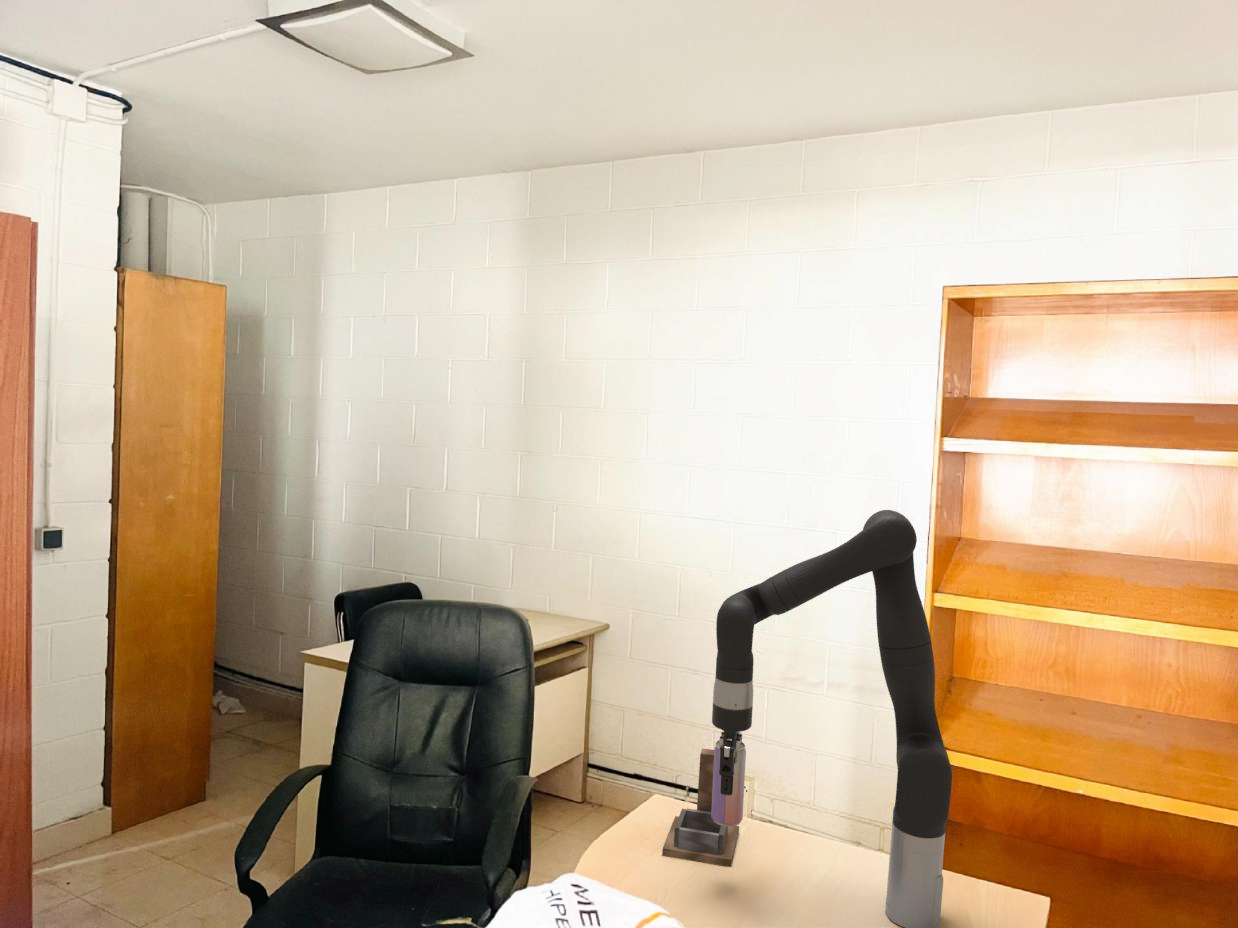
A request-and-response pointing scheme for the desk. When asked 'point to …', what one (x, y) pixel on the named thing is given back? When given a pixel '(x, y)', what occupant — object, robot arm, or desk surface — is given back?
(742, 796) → the beverage can
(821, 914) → the desk surface
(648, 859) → the desk surface
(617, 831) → the desk surface
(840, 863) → the desk surface
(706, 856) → the post holder
